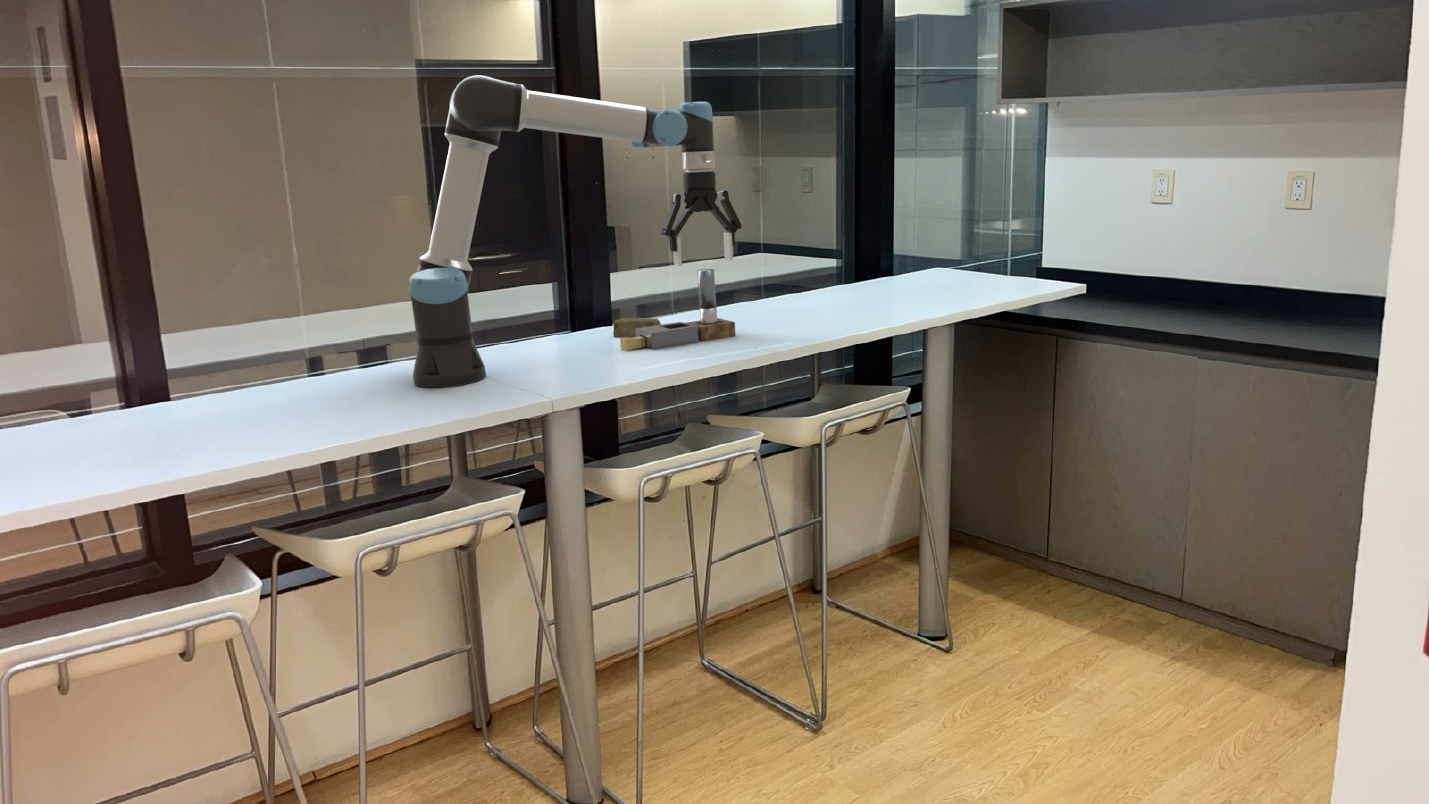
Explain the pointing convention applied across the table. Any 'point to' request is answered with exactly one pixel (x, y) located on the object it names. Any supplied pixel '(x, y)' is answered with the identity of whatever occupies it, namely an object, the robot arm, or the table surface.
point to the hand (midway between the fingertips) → (703, 262)
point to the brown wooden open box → (715, 330)
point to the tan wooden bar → (633, 343)
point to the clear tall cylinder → (707, 296)
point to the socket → (668, 335)
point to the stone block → (632, 326)
